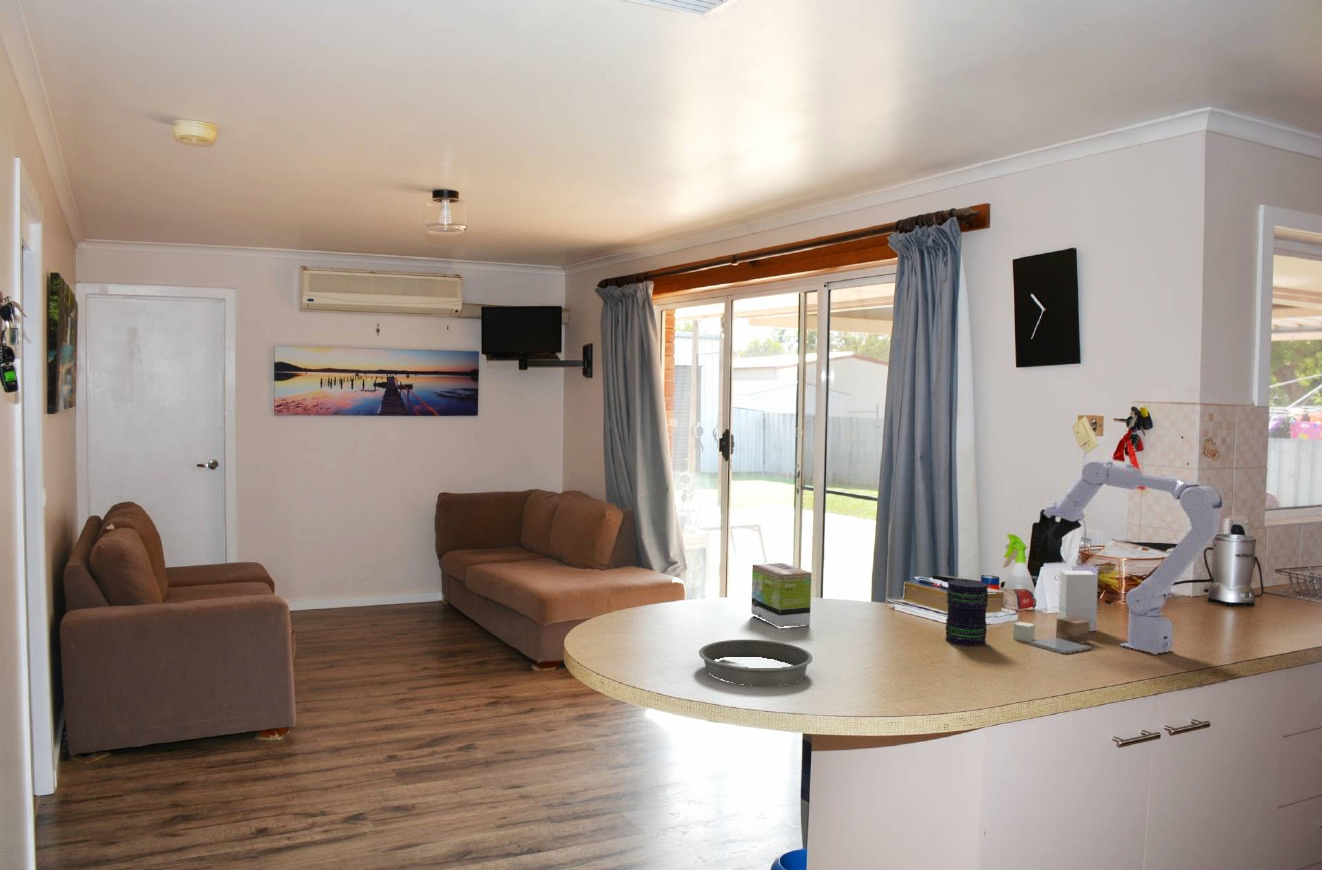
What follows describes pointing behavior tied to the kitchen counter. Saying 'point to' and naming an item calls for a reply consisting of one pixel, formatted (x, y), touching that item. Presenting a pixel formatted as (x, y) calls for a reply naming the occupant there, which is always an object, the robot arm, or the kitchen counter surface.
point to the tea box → (781, 594)
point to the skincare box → (1078, 596)
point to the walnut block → (1072, 629)
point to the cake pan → (756, 649)
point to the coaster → (1059, 645)
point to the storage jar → (966, 612)
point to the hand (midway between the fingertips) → (1046, 537)
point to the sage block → (1024, 631)
